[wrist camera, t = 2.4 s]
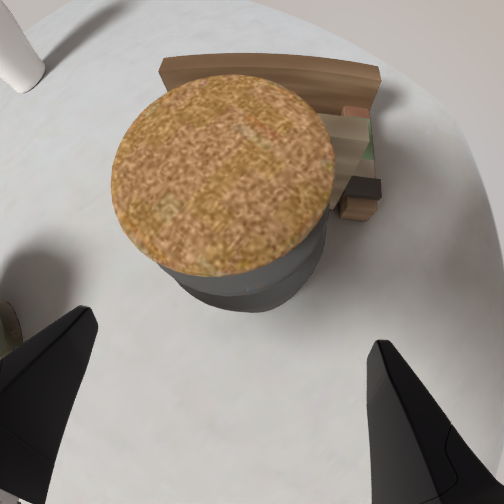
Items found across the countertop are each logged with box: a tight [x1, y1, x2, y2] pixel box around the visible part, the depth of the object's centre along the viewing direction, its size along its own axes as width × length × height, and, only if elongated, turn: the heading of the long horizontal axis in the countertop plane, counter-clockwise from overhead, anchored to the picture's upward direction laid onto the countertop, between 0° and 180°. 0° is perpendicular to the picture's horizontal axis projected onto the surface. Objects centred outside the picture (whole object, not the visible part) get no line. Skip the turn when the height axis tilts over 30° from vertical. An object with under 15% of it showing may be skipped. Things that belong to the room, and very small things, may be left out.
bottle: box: [111, 74, 335, 313], centre depth 13 cm, size 6×6×15 cm
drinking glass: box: [0, 0, 45, 93], centre depth 20 cm, size 7×7×15 cm
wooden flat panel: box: [317, 113, 382, 210], centre depth 17 cm, size 1×15×9 cm, turn 85°
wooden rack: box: [158, 53, 381, 221], centre depth 19 cm, size 10×15×6 cm, turn 85°
